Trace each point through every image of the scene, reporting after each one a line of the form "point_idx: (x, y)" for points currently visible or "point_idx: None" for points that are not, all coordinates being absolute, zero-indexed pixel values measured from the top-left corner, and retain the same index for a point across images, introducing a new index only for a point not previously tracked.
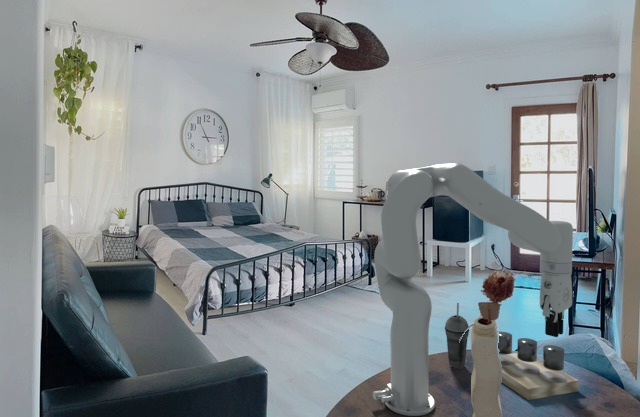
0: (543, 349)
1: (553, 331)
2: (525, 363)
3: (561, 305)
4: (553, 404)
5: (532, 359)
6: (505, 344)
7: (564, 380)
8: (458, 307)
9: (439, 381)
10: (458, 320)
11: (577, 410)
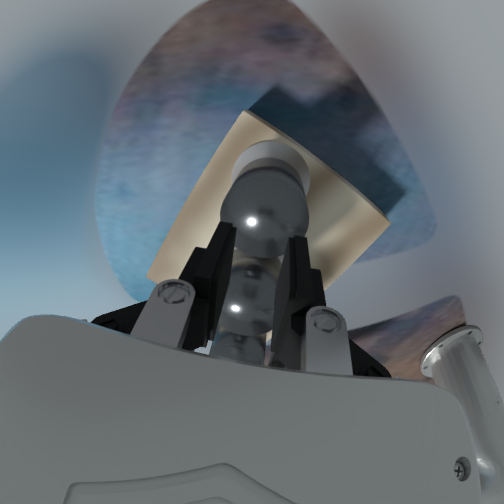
0: (279, 251)
1: (321, 276)
2: None
3: (416, 459)
4: (371, 154)
5: (272, 258)
6: (260, 342)
7: (279, 145)
8: None
9: (371, 354)
10: None
11: (369, 99)
